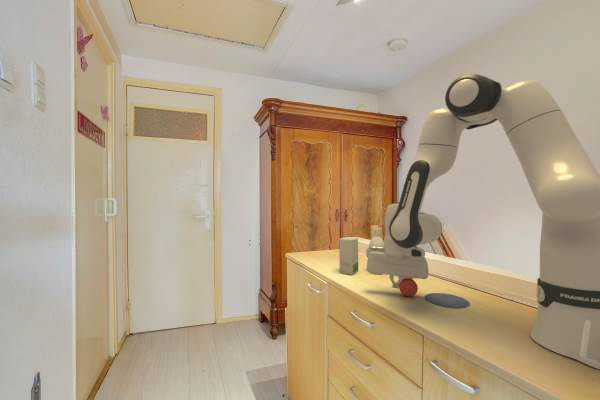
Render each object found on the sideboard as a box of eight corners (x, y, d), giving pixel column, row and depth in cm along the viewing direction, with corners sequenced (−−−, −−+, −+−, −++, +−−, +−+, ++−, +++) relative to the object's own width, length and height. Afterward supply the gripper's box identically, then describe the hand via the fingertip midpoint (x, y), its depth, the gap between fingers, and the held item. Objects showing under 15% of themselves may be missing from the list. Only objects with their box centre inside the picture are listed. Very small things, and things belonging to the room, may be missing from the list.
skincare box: (352, 275, 120) (352, 239, 120) (338, 273, 123) (338, 238, 123) (358, 271, 127) (359, 237, 127) (345, 269, 130) (345, 236, 130)
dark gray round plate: (464, 296, 95) (464, 295, 95) (474, 310, 82) (474, 309, 82) (423, 291, 99) (423, 291, 99) (426, 304, 87) (426, 304, 87)
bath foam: (367, 270, 129) (367, 227, 129) (382, 270, 128) (382, 227, 128) (370, 274, 122) (370, 229, 122) (386, 274, 121) (386, 229, 121)
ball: (409, 297, 97) (421, 285, 96) (409, 302, 92) (421, 289, 90) (395, 284, 99) (407, 272, 98) (394, 289, 94) (406, 276, 92)
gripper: (365, 247, 96) (364, 286, 96) (430, 253, 89) (428, 295, 90) (367, 244, 102) (365, 281, 102) (427, 249, 95) (426, 288, 96)
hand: (395, 287), depth 96 cm, fingers closed
